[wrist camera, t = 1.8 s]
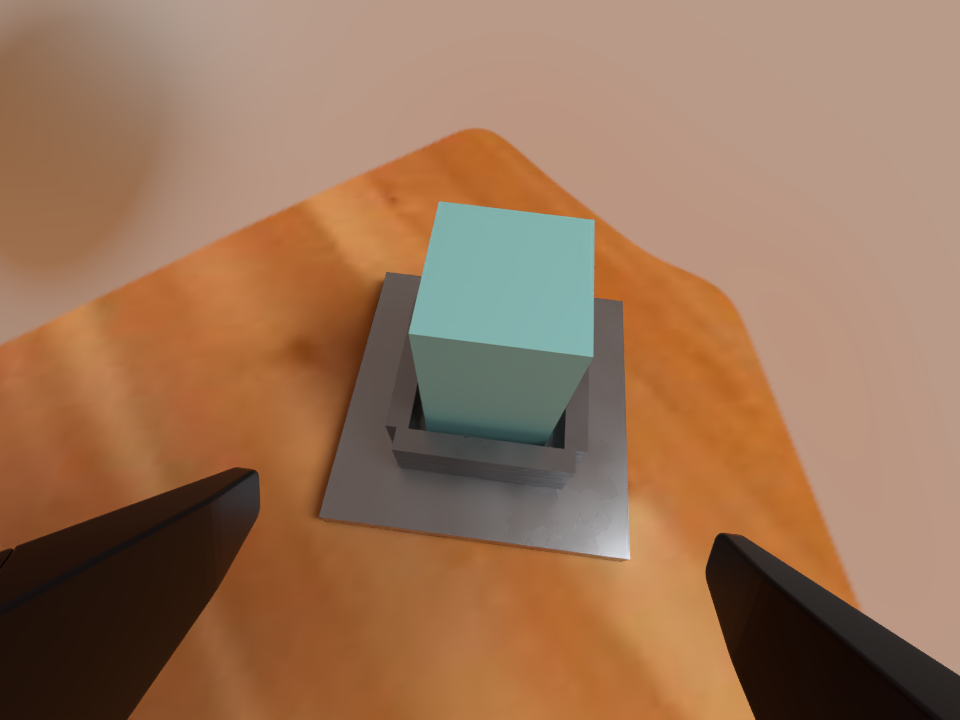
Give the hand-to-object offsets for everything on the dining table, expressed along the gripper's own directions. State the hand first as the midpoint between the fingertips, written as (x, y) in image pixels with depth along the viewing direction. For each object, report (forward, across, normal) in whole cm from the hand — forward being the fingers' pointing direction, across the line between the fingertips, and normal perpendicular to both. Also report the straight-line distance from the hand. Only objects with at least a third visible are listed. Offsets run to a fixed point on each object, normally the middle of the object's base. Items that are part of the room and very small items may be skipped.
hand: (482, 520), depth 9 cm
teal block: (+14, 0, +3) cm, 15 cm away
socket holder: (+15, 0, +4) cm, 16 cm away
